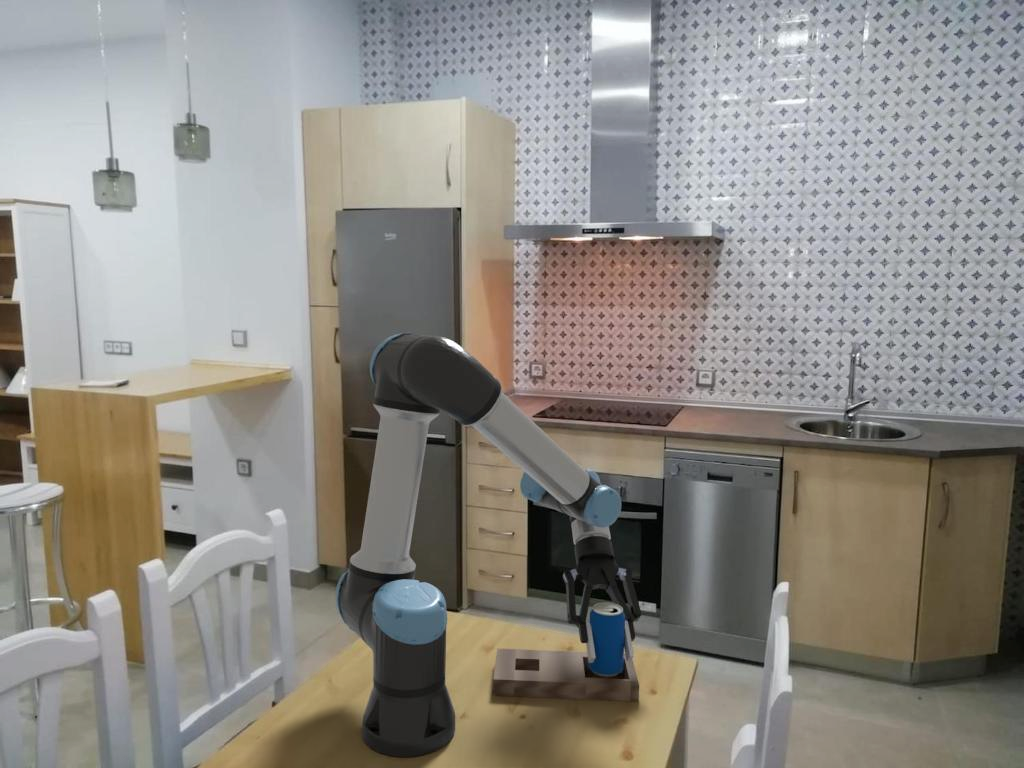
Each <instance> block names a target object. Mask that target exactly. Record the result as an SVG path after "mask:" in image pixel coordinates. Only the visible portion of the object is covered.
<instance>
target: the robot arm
mask: <svg viewBox="0 0 1024 768" xmlns="http://www.w3.org/2000/svg"><path fill="white" fill-rule="evenodd" d="M369 374H370V378H371V381H372V382H373V384H374V386H375V394H374V399H373V400H374V401H373V407H374V409H376V411H377V412H378V414H379V416H380V418H379V419H380V420H379V426H378V432H377V439H376V443H375V444H376V446H375V453H374V459H373V464H372V465H373V466H372V471H371V478H370V479H371V480H370V486H369V492H368V497H367V505H366V510H365V511H366V512H365V517H364V525H363V531H362V532H363V533H362V536H361V537H362V539H361V544H360V545H361V546H360V549H359V550H358V551H357V552H355V553H354V554H353V555H351V557H350V558H349V563H348V564H349V565H348V568H347V570H346V571H345V572H344V573H342V575H341V576H340V578H339V580H338V582H337V585H336V589H335V593H334V596H335V605H336V606H335V607H336V608H337V611H338V614H339V615H340V617H341V619H342V622H344V624H345V626H347V627H348V628H349V630H352V631H353V632H354V633H355V634H357V636H358V637H359V638H360V639H361V640H362V641H363V642H364V644H365V645H367V646H368V647H369V649H371V650H372V654H373V655H372V657H373V658H372V659H373V662H372V663H373V664H372V665H373V666H372V667H373V668H372V669H373V670H372V671H373V672H372V673H373V674H372V677H373V679H372V680H373V681H372V683H373V684H372V689H371V692H370V695H369V697H368V701H367V704H366V706H365V709H364V713H363V716H362V719H361V721H362V722H361V727H362V728H361V736H362V739H363V741H364V743H365V744H366V745H367V746H368V747H369V748H370V749H372V750H373V751H376V753H377V752H378V753H380V754H383V755H387V756H392V757H399V758H401V757H402V758H403V757H404V758H405V757H407V758H408V757H417V756H423V755H427V754H430V753H433V752H436V751H437V750H439V749H441V748H442V747H444V746H445V745H446V744H448V743H449V742H450V741H451V740H452V738H453V737H454V735H455V733H456V712H455V709H454V706H453V702H452V699H451V697H450V694H449V690H448V688H447V684H446V668H447V667H446V666H447V665H446V663H447V662H446V660H447V659H446V658H447V626H448V611H447V602H446V599H445V597H444V594H443V593H442V592H441V590H440V589H439V588H438V587H436V586H434V585H433V584H431V583H428V582H426V581H423V582H420V581H419V580H417V579H415V575H416V568H417V567H416V566H417V564H416V563H415V561H414V560H413V559H412V558H411V556H410V550H411V543H412V539H413V538H412V537H413V530H414V524H415V518H416V511H417V505H418V504H417V503H418V498H419V491H420V485H421V484H420V483H421V478H422V471H423V465H424V458H425V452H426V446H427V439H428V432H429V427H430V423H431V422H432V421H433V420H435V419H436V418H437V417H438V416H440V412H441V411H442V412H443V413H445V414H447V415H448V416H450V417H451V418H452V419H454V420H456V422H458V423H459V424H460V425H461V426H463V427H473V428H474V429H475V430H476V431H478V433H479V434H481V436H483V437H484V438H486V440H488V442H490V443H491V444H492V445H494V446H495V447H496V448H497V449H498V450H499V451H500V452H501V453H503V454H504V455H505V456H506V457H508V458H509V459H510V461H512V462H513V463H515V465H517V466H518V467H519V468H520V469H521V470H522V471H523V473H522V476H521V479H520V484H519V489H520V492H521V494H522V496H523V497H524V498H525V499H526V500H530V501H531V502H533V503H535V504H537V503H538V504H540V505H543V506H546V507H548V508H550V509H553V510H556V511H557V512H559V513H562V514H565V515H567V516H569V520H570V521H569V522H570V526H571V531H572V532H571V533H572V540H573V545H574V556H575V563H576V567H575V568H574V569H571V570H570V569H568V568H566V569H565V570H564V572H563V574H562V579H563V581H564V585H565V590H566V593H565V595H566V616H567V623H568V624H570V625H576V627H577V628H578V634H579V641H580V643H581V644H585V646H586V652H587V654H588V661H589V663H593V661H594V660H595V658H596V656H595V650H594V643H593V636H592V629H591V624H590V621H587V617H588V612H589V605H590V602H591V596H592V591H593V590H597V589H601V590H605V591H606V593H607V594H608V595H609V597H610V600H611V601H612V603H615V604H618V605H620V606H621V607H622V608H623V612H624V614H625V634H624V654H625V655H626V661H631V660H632V659H633V658H634V657H635V652H634V647H633V643H632V642H634V640H635V639H636V632H635V625H634V622H638V621H639V620H640V618H641V617H642V611H641V606H640V603H639V599H638V597H637V592H636V589H635V585H634V582H633V568H632V567H627V568H622V567H619V565H618V564H617V562H616V559H615V554H614V548H613V543H612V541H611V539H612V538H611V532H610V526H612V525H613V524H614V523H615V522H616V521H617V520H618V518H619V516H620V514H621V512H622V499H621V496H620V493H619V492H618V491H617V490H615V488H611V487H610V486H608V485H607V484H602V483H601V479H600V476H599V475H598V473H597V472H595V471H594V470H591V469H586V470H585V469H584V467H582V466H581V465H580V464H579V463H578V462H577V461H575V460H574V459H573V458H572V457H571V456H570V455H569V454H568V453H567V452H566V451H565V450H564V449H563V448H562V447H561V446H559V444H557V443H556V442H555V441H554V439H552V438H551V437H550V435H548V434H547V433H546V432H545V431H544V430H543V429H542V428H541V427H539V425H537V424H536V423H535V422H534V421H533V420H532V419H531V418H530V417H529V416H528V415H527V414H526V413H525V412H524V411H523V410H521V408H519V407H518V406H517V405H516V404H515V403H514V402H513V401H512V400H511V399H510V398H509V397H508V396H507V395H506V394H505V393H503V384H502V383H501V382H500V380H499V379H498V378H496V376H494V375H493V374H492V373H491V372H490V371H489V370H488V369H487V367H485V366H484V365H483V364H482V363H481V362H480V361H479V360H478V359H477V358H475V356H473V355H472V354H471V353H470V352H469V351H467V350H466V349H465V348H464V347H463V346H461V345H459V344H458V343H457V342H455V341H453V340H452V339H450V338H447V337H444V336H439V335H428V334H427V335H426V334H420V333H416V332H404V333H397V334H394V335H391V336H388V337H387V338H386V339H384V340H382V341H381V342H380V343H379V345H377V347H376V348H375V349H374V351H373V353H372V355H371V358H370V362H369ZM616 576H619V578H620V580H621V581H622V585H623V586H622V587H623V590H624V594H625V597H626V600H627V603H626V601H625V600H624V598H623V595H622V594H621V592H620V589H619V588H618V584H617V582H616V580H615V578H616ZM577 578H578V579H579V580H580V581H581V582H582V583H583V584H584V587H583V592H582V598H581V603H580V608H579V612H578V613H579V614H577V608H576V606H577V605H576V604H577V603H576V590H575V589H576V587H575V585H576V584H575V581H576V579H577ZM586 621H587V622H586Z"/></svg>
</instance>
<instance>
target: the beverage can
mask: <svg viewBox="0 0 1024 768" xmlns="http://www.w3.org/2000/svg"><path fill="white" fill-rule="evenodd" d="M589 622H590V624H591V629H592V636H593V643H594V650H595V656H596V658H595V660H594V661H593V663H589V661H588V667H589V668H590V669H591V670H592V671H593V672H592V673H594V674H595V675H597V676H600V677H602V678H603V677H604V678H606V677H607V678H610V677H615V676H617V675H618V674H621V673H620V672H621V671H622V670H623V659H624V654H625V649H624V634H625V614H624V612H623V608H622V607H621V606H620V605H618V604H615V603H613V602H610V601H609V602H607V601H606V602H605V601H603V602H597V603H595V604H593V605H592V608H591V610H590V612H589Z"/></svg>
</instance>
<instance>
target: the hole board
mask: <svg viewBox="0 0 1024 768" xmlns="http://www.w3.org/2000/svg"><path fill="white" fill-rule="evenodd" d="M493 670H494V671H493V679H492V680H493V681H492V683H493V684H492V685H493V686H492V696H500V697H501V696H503V697H504V696H505V697H529V698H547V699H548V698H549V699H552V698H553V699H572V700H573V699H574V700H575V699H576V700H594V701H595V700H597V701H615V702H617V701H618V702H619V701H620V702H622V701H623V702H640V699H639V698H640V683H639V680H638V678H639V677H638V675H637V672H636V667H635V664H634V659H633V658H632V660H631V661H626V655H625V653H624V659H623V670H622V671H621V672H620V673H619V674H623V676H624V678H608V677H607V678H606V677H604V678H603V677H601V678H599V677H586V675H585V673H594V672H593V671H592V670H591V669H590V668H589V667H588V654H587V651H570V650H569V651H566V650H565V651H564V650H543V649H542V650H540V649H523V648H522V649H519V648H517V649H515V648H496V656H495V664H494V669H493Z"/></svg>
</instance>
